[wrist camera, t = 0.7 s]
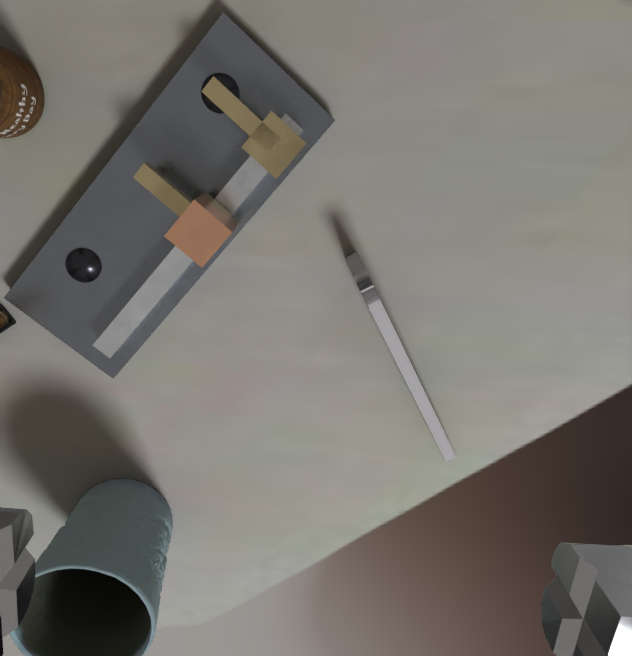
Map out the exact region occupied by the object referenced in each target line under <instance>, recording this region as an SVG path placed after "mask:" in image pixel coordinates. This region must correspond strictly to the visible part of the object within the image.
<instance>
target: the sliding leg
mask: <svg viewBox="0 0 632 656" xmlns="http://www.w3.org/2000/svg"><path fill="white" fill-rule="evenodd" d="M133 178H134V179H135V180H137V181H138V182H139V183H140V184H141V185H143V186H144V187H145V188H146V189H147V190H148V191H150V192H151V193H152V194H153V195H154V196H156V197H157V198H158V199H159V200H160V201H162V202H163V203H164V204H165V205H166V206H167V207H169V208H170V209H171V210H172V211H173V212H175V213H176V214H177V215H178V216H179V218H178V220H177V221H176V222H175V223H174V224H173V226H172V227H171V228H170V229H169V231H168V232H167V233H166V234H165V235H164V237H165V238H167V239H168V240H169V241H170V242H172V243H173V244H174V245H175V246H176V247H178V248H179V249H180V250H181V251H182V252H184V253H185V254H186V255H187V256H188V257H190V258H191V259H192V260H193V261H194V262H196V263H197V264H198V265H199V266H201V267H203V266H204V265H205V264H206V263H207V261H208V260H209V259H210V258H211V257H212V256H213V254H214V253H215V252H216V251H217V250H218V249H219V247H220V246H221V245H222V244H223V243H224V242H225V240H226V239H227V238H228V237H229V236H230V235H231V233H232V232H233V231H234V229H235V228H236V226H237V225H238V223H239V222H240V221H239V220H238V219H237V218H236V217H235V216H233V215H232V214H231V213H230V212H229V211H228V210H226V209H225V208H224V207H223V206H222V205H221V204H220V203H218V202H217V201H216V200H215V199H214V198H213V197H211V196H210V195H209V194H208V193H207V192H205V193H204V194H202V195H200V196H199V197H197V198H196V199H194V200H193V201H192V200H191V199H190V198H189V197H188V196H186V195H185V194H184V193H183V192H182V191H181V190H179V189H178V188H177V187H176V186H175V185H174V184H172V183H171V182H170V181H169V180H168V179H167V178H165V177H164V176H163V175H162V170H161V169H160V168H159V167H153V166H151V165H150V164H149V163H148V162H147V163H144V164H143V165H142V166H141V168H140V169H139V170H138V171H137V173H136V174H135V175H134V176H133Z"/></svg>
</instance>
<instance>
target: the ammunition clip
mask: <svg viewBox="0 0 632 656" xmlns="http://www.w3.org/2000/svg"><path fill="white" fill-rule="evenodd" d="M15 323H16V321H15V320H14V319H13V318H12V316H11V315H10V314H9V313H8V312H7V310H6V309H5V308H4V307H3V306H2V304H0V333H1V332H3V331H5V330H6V329H8V328H9V327H11V326H12V325H14V324H15Z"/></svg>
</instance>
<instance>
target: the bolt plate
mask: <svg viewBox="0 0 632 656" xmlns="http://www.w3.org/2000/svg"><path fill="white" fill-rule="evenodd" d="M334 121H335V120H334V119H333V118H332V117H331V116H330V115H329V114H328V113H327V112H326V111H325V110H324V109H323V108H322V107H321V106H320V105H319V104H318V103H317V102H316V101H315V100H314V99H313V98H312V97H311V96H310V95H309V94H308V93H306V92H305V91H304V90H303V89H302V88H301V87H300V86H299V85H298V84H297V83H296V82H295V81H294V80H293V79H292V78H291V77H290V76H289V75H288V74H287V73H286V72H285V71H284V70H283V69H282V68H281V67H280V66H279V65H278V64H277V63H275V62H274V61H273V60H272V59H271V58H270V57H269V56H268V55H267V54H266V53H265V52H264V51H263V50H262V49H261V48H260V47H259V46H258V45H257V44H256V43H255V42H254V41H253V40H252V39H251V38H250V37H249V36H248V35H247V34H245V33H244V32H243V31H242V30H241V29H240V28H239V27H238V26H237V25H236V24H235V23H234V22H233V21H232V20H231V19H230V18H229V17H228V16H227V15H226V14H225V13H224V12H223V13H222V15H221V16H220V17H219V19H218V20H217V21H216V22H215V24H214V25H213V26H212V28H211V29H210V30H209V32H208V33H207V34H206V35H205V37H204V38H203V39H202V41H201V42H200V43H199V45H198V46H197V47H196V48H195V50H194V51H193V52H192V54H191V55H190V56H189V58H188V59H187V60H186V61H185V63H184V64H183V65H182V67H181V68H180V69H179V71H178V72H177V73H176V74H175V76H174V77H173V78H172V80H171V81H170V82H169V84H168V85H167V86H166V87H165V89H164V90H163V91H162V93H161V94H160V95H159V97H158V98H157V99H156V101H155V102H154V103H153V104H152V106H151V107H150V108H149V110H148V111H147V112H146V114H145V115H144V116H143V117H142V119H141V120H140V121H139V123H138V124H137V125H136V127H135V128H134V129H133V130H132V132H131V133H130V134H129V136H128V137H127V138H126V140H125V141H124V142H123V143H122V145H121V146H120V147H119V149H118V150H117V151H116V153H115V154H114V155H113V156H112V158H111V159H110V160H109V162H108V163H107V164H106V166H105V167H104V168H103V169H102V171H101V172H100V173H99V175H98V176H97V177H96V179H95V180H94V181H93V183H92V184H91V185H90V186H89V188H88V189H87V190H86V192H85V193H84V194H83V196H82V197H81V198H80V199H79V201H78V202H77V203H76V205H75V206H74V207H73V209H72V210H71V211H70V212H69V214H68V215H67V216H66V218H65V219H64V220H63V222H62V223H61V224H60V225H59V227H58V228H57V229H56V231H55V232H54V233H53V235H52V236H51V237H50V238H49V240H48V241H47V242H46V244H45V245H44V246H43V248H42V249H41V250H40V251H39V253H38V254H37V255H36V257H35V258H34V259H33V261H32V262H31V263H30V264H29V266H28V267H27V268H26V270H25V271H24V272H23V274H22V275H21V276H20V278H19V279H18V280H17V281H16V283H15V284H14V285H13V287H12V288H11V289H10V291H9V292H8V293H7V294H6V296H5V297H4V298H5V299H6V300H7V301H9V302H10V303H12V304H13V305H14V306H16V307H17V308H18V309H20V310H21V311H22V312H24V313H25V314H26V315H28V316H29V317H30V318H32V319H33V320H35V321H36V322H37V323H39V324H40V325H41V326H43V327H44V328H45V329H47V330H48V331H49V332H51V333H52V334H53V335H55V336H56V337H58V338H59V339H60V340H62V341H63V342H64V343H66V344H67V345H68V346H70V347H71V348H72V349H74V350H75V351H76V352H78V353H79V354H81V355H82V356H83V357H85V358H86V359H87V360H89V361H90V362H91V363H93V364H94V365H95V366H97V367H98V368H99V369H101V370H102V371H104V372H105V373H106V374H108V375H109V376H110V377H112V378H114V377H115V376H116V375H117V374H118V373H119V371H120V370H121V369H122V368H123V367H124V366H125V364H126V363H127V362H128V361H129V360H130V359H131V357H132V356H133V355H134V354H135V353H136V352H137V350H138V349H139V348H140V347H141V346H142V345H143V343H144V342H145V341H146V340H147V339H148V338H149V336H150V335H151V334H152V333H153V332H154V331H155V329H156V328H157V327H158V326H159V325H160V324H161V322H162V321H163V320H164V319H165V318H166V317H167V315H168V314H169V313H170V312H171V311H172V310H173V308H174V307H175V306H176V305H177V304H178V303H179V301H180V300H181V299H182V298H183V297H184V296H185V294H186V293H187V292H188V291H189V290H190V289H191V287H192V286H193V285H194V284H195V283H196V282H197V280H198V279H199V278H200V277H201V276H202V275H203V273H204V272H205V271H206V270H207V269H208V268H209V266H210V265H211V264H212V263H213V262H214V261H215V259H216V258H217V257H218V256H219V255H220V254H221V252H222V251H223V250H224V249H225V248H226V247H227V245H228V244H229V243H230V242H231V241H232V240H233V238H234V237H235V236H236V235H237V234H238V233H239V231H240V230H241V229H242V228H243V227H244V226H245V224H246V223H247V222H248V221H249V220H250V219H251V217H252V216H253V215H254V214H255V213H256V212H257V210H258V209H259V208H260V207H261V206H262V205H263V204H264V202H265V201H266V200H267V199H268V198H269V197H270V195H271V194H272V193H273V192H274V191H275V190H276V188H277V187H278V186H279V185H280V184H281V183H282V181H283V180H284V179H285V178H286V177H287V176H288V174H289V173H290V172H291V171H292V170H293V169H294V167H295V166H296V165H297V164H298V163H299V162H300V160H301V159H302V158H303V157H304V156H305V155H306V153H307V152H308V151H309V150H310V149H311V148H312V146H313V145H314V144H315V143H316V142H317V141H318V139H319V138H320V137H321V136H322V135H323V134H324V132H325V131H326V130H327V129H328V128H329V127H330V125H331V124H332V123H333V122H334ZM147 162H148V163H149V164H150V165H151V166H153V167H159V168H160V169H161V170H162V175H163V176H164V177H165V178H167V179H168V180H169V181H170V182H171V183H172V184H174V185H175V186H176V187H177V188H178V189H179V190H181V191H182V192H183V193H184V194H185V195H186V196H188V197H189V198H190V199H191V200H192V201H193V200H194V199H196V198H197V197H199V196H200V195H202V194H204V193H205V192H207V193H208V194H209V195H210V196H211V197H213V198H214V199H215V200H216V201H217V202H218V203H220V204H221V205H222V206H223V207H224V208H225V209H226V210H228V211H229V212H230V213H231V214H232V215H233V216H235V217H236V218H237V219H238V220H239V221H240V222H239V223H238V225H237V226H236V228H235V229H234V231H233V232H232V233H231V235H230V236H229V237H228V238H227V239H226V240H225V242H224V243H223V244H222V245H221V246H220V247H219V249H218V250H217V251H216V252H215V253H214V254H213V256H212V257H211V258H210V259H209V260H208V261H207V263H206V264H205V265H204V266H203V267H201V266H199V265H198V264H197V263H196V262H194V261H193V260H192V259H191V258H190V257H188V256H187V255H186V254H185V253H184V252H182V251H181V250H180V249H179V248H178V247H176V246H175V245H174V244H173V243H172V242H170V241H169V240H168V239H167V238H165V237H164V235H165V234H166V233H167V232H168V231H169V229H170V228H171V227H172V226H173V224H174V223H175V222H176V221H177V220H178V218H179V216H178V215H177V214H176V213H175V212H173V211H172V210H171V209H170V208H169V207H167V206H166V205H165V204H164V203H163V202H162V201H160V200H159V199H158V198H157V197H156V196H154V195H153V194H152V193H151V192H150V191H148V190H147V189H146V188H145V187H144V186H143V185H141V184H140V183H139V182H138V181H137V180H135V179H134V178H133V176H134V175H135V174H136V173H137V171H138V170H139V169H140V168H141V166H142V165H143V164H144V163H147Z"/></svg>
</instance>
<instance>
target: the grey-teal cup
mask: <svg viewBox="0 0 632 656" xmlns="http://www.w3.org/2000/svg"><path fill="white" fill-rule="evenodd" d="M172 526H173V520H172V514H171V510H170V508H169V506H168V503H167V502H166V501H165V499H164V498H163V497H162V495H161V494H160V493H158V492H157V491H156V490H155V489H153V488H152V487H150V486H148V485H146V484H144V483H142V482H139V481H135V480H132V479H116V480H114V479H111V480H108V481H107V482H102V483H101V484H98V485H96V486H95V487H93V488H92V489H90V490H89V491H88V492H86V493H85V494H84V496H83V497H82V498H81V499H80V501H79V502H78V504H77V505H76V507H75V508H74V510H73V511H72V513H71V515H70V516H69V517H68V519H67V521H66V525H65V526H63V527H61V528H60V529H59V530H58V532H57V534H56V535H55V536H54V538H53V540H52V541H51V543H50V544H49V545H48V547H47V549H46V550H45V551H44V552H43V553H42V554H41V556H40V557H39V559H38V560H37V562H36V563H35V572H36V574H35V582H34V590H33V593H32V597H31V600H30V603H29V606H28V609H27V612H26V614H25V615H24V617H23V619H22V621H21V623H20V625H19V627H18V628H16V629H15V630H13V631H12V632H10V636H11V638H12V640H13V641H14V643H15V645H16V646H17V647H18V649H19V650H20V651H21V652H22V653H23V654H24V655H25V656H144V654H145V653H146V652H147V650H148V648H149V647H150V645H151V643H152V641H153V638H154V635H155V631H156V624H157V617H158V610H159V603H160V593H161V591H162V582H163V578H164V572H165V566H166V562H167V558H166V556H165V555H166V554H167V552H168V548H169V543H170V538H171V533H172Z"/></svg>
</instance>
